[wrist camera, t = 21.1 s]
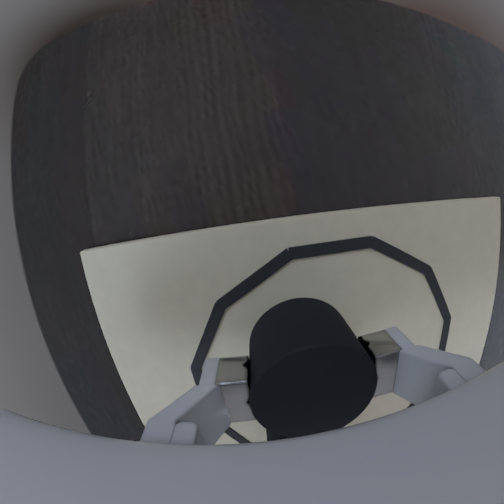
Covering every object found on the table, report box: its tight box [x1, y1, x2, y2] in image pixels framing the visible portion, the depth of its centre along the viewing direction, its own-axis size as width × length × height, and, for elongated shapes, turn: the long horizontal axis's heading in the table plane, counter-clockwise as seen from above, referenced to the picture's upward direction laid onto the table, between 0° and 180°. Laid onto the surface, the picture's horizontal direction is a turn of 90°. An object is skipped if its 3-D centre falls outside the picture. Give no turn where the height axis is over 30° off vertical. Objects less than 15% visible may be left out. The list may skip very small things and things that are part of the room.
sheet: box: [80, 196, 501, 445], centre depth 14 cm, size 22×30×1 cm
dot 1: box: [249, 298, 377, 438], centre depth 9 cm, size 4×4×4 cm
